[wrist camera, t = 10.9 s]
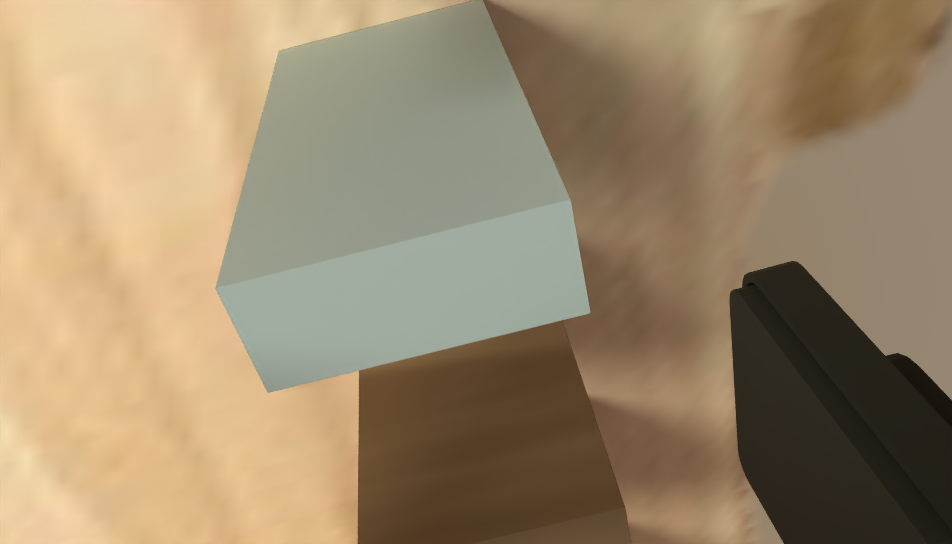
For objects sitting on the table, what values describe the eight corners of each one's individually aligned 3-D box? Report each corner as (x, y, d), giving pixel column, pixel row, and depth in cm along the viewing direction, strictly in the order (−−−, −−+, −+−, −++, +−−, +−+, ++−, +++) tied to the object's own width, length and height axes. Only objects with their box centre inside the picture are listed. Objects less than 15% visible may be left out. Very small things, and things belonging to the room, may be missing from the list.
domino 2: (542, 283, 24) (636, 572, 16) (379, 324, 24) (387, 631, 16) (530, 227, 23) (624, 507, 15) (359, 270, 23) (358, 571, 15)
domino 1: (498, 77, 20) (590, 312, 12) (306, 125, 21) (267, 392, 12) (481, -2, 19) (570, 199, 11) (279, 50, 19) (215, 288, 11)
